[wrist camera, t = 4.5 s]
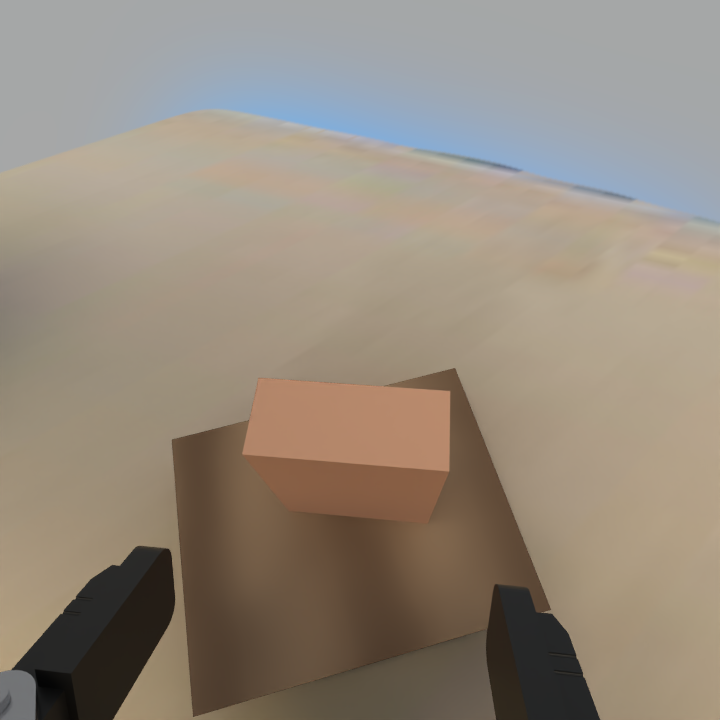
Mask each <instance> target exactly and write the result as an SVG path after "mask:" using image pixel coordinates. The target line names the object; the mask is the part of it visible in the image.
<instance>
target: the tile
mask: <svg viewBox="0 0 720 720" xmlns="http://www.w3.org/2000/svg"><path fill="white" fill-rule="evenodd" d="M242 455H243V456H244V457H245V459H246V460H247V461H248V462H249V463H250V465H251V466H252V467H253V468H254V469H255V471H256V472H257V473H258V474H259V475H260V477H261V478H262V479H263V480H264V482H265V483H266V484H267V485H268V486H269V488H270V489H271V490H272V491H273V492H274V494H275V495H276V496H277V497H278V499H279V500H280V501H281V502H282V503H283V505H284V506H285V507H286V508H287V509H288V511H295V512H306V513H317V514H328V515H339V516H350V517H361V518H372V519H382V520H393V521H404V522H415V523H426V524H428V522H429V519H430V517H431V514H432V512H433V510H434V507H435V505H436V502H437V500H438V497H439V495H440V493H441V490H442V488H443V485H444V483H445V481H446V478H447V476H448V473H449V455H450V391H442V390H428V389H413V388H399V387H384V386H370V385H355V384H341V383H326V382H312V381H297V380H283V379H268V378H258V383H257V387H256V392H255V397H254V401H253V406H252V411H251V415H250V420H249V424H248V429H247V434H246V438H245V443H244V448H243V452H242Z"/></svg>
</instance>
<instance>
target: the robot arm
mask: <svg viewBox="0 0 720 720" xmlns="http://www.w3.org/2000/svg"><path fill="white" fill-rule="evenodd" d="M174 606H175V590H174V579H173V567H172V556H171V552H170V550H169V549H166V548H156V547H147V546H137V547H136V548H135V549H134V550H133V551H132V552H131V553H130V554H129V556H128V557H127V558H126V559H125V560H124V562H123V563H122V564H121V565H120V566H116V565H112V566H110V567H109V568H107V569H106V570H104V571H103V572H101V573H100V574H98V575H97V576H95V577H94V578H92V579H91V580H90V581H89V582H88V583H87V584H86V586H85V587H84V588H83V589H82V590H81V591H80V592H79V594H78V595H77V596H76V599H75V600H72V602H71V603H70V604H69V605H68V606H67V607H66V608H65V610H64V612H63V614H60V615H59V616H58V618H57V619H56V620H55V621H54V622H53V623H52V624H51V625H50V627H49V628H48V629H47V630H46V631H45V632H44V633H43V635H42V636H41V637H40V638H39V639H38V640H37V641H36V643H35V644H34V645H33V646H32V647H31V648H30V649H29V651H28V652H27V653H26V654H25V655H24V656H23V657H22V659H21V660H20V661H19V662H18V663H17V664H16V665H15V667H14V668H13V669H12V670H9V671H4V672H0V720H113V718H114V717H115V715H116V713H117V712H118V710H119V708H120V707H121V705H122V703H123V701H124V700H125V698H126V696H127V695H128V693H129V691H130V690H131V688H132V686H133V685H134V683H135V681H136V680H137V678H138V676H139V674H140V673H141V671H142V669H143V668H144V666H145V664H146V663H147V661H148V659H149V658H150V656H151V654H152V653H153V651H154V649H155V647H156V646H157V644H158V642H159V641H160V639H161V637H162V636H163V634H164V632H165V631H166V629H167V627H168V625H169V623H170V621H171V618H172V615H173V611H174ZM486 656H487V666H488V672H489V678H490V684H491V690H492V697H493V703H494V709H495V715H496V720H600V718H599V716H598V713H597V710H596V707H595V705H594V702H593V699H592V697H591V694H590V691H589V688H588V686H587V683H586V680H585V678H583V672H582V669H581V667H580V664H579V661H578V659H576V653H575V650H574V648H573V645H572V642H571V640H570V637H569V634H568V633H567V631H566V630H565V629H564V628H563V627H562V625H561V624H560V623H559V622H558V620H557V619H556V618H555V617H554V616H553V614H548V613H538V612H536V610H535V607H534V604H533V600H532V597H531V594H530V591H529V589H528V588H527V587H520V586H511V585H501V584H495V585H494V589H493V595H492V602H491V609H490V616H489V623H488V630H487V638H486Z"/></svg>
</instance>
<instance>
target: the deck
mask: <svg viewBox="0 0 720 720" xmlns="http://www.w3.org/2000/svg"><path fill="white" fill-rule="evenodd" d="M384 387H399V388H413V389H428V390H442V391H450V455H449V473H448V476H447V478H446V481H445V483H444V485H443V488H442V490H441V493H440V495H439V497H438V500H437V502H436V505H435V507H434V510H433V512H432V514H431V517H430V519H429V522H428V524H426V523H415V522H404V521H393V520H382V519H372V518H361V517H350V516H339V515H328V514H317V513H306V512H295V511H288V509H287V508H286V507H285V506H284V505H283V503H282V502H281V501H280V500H279V499H278V497H277V496H276V495H275V494H274V492H273V491H272V490H271V489H270V488H269V486H268V485H267V484H266V483H265V482H264V480H263V479H262V478H261V477H260V475H259V474H258V473H257V472H256V471H255V469H254V468H253V467H252V466H251V465H250V463H249V462H248V461H247V460H246V459H245V457H244V456H243V455H242V452H243V448H244V443H245V438H246V434H247V429H248V424H249V420H248V421H244V422H240V423H236V424H232V425H228V426H225V427H221V428H217V429H213V430H209V431H205V432H201V433H197V434H193V435H189V436H185V437H181V438H177V439H173V440H172V448H173V461H174V474H175V487H176V500H177V513H178V526H179V539H180V552H181V565H182V578H183V591H184V604H185V617H186V630H187V643H188V656H189V670H190V683H191V696H192V709H193V717H195V716H198V715H201V714H205V713H208V712H211V711H215V710H218V709H221V708H225V707H228V706H231V705H235V704H238V703H241V702H245V701H248V700H251V699H255V698H258V697H261V696H265V695H268V694H271V693H275V692H278V691H281V690H285V689H288V688H291V687H295V686H298V685H301V684H305V683H308V682H311V681H315V680H318V679H321V678H325V677H328V676H331V675H335V674H338V673H341V672H345V671H348V670H351V669H355V668H358V667H361V666H365V665H368V664H371V663H375V662H378V661H381V660H385V659H388V658H391V657H395V656H398V655H401V654H405V653H408V652H411V651H415V650H418V649H421V648H425V647H428V646H431V645H435V644H438V643H441V642H445V641H448V640H451V639H455V638H458V637H461V636H465V635H468V634H471V633H475V632H478V631H481V630H485V629H488V623H489V616H490V609H491V602H492V595H493V589H494V585H495V584H501V585H511V586H520V587H527V588H528V589H529V591H530V594H531V597H532V600H533V604H534V607H535V610H536V612H538V613H541V612H545V611H548V610H551V609H550V606H549V604H548V601H547V599H546V596H545V593H544V591H543V588H542V586H541V583H540V581H539V578H538V576H537V573H536V571H535V568H534V566H533V563H532V561H531V558H530V556H529V553H528V551H527V548H526V546H525V543H524V541H523V538H522V536H521V533H520V531H519V528H518V526H517V523H516V520H515V518H514V515H513V513H512V510H511V508H510V505H509V503H508V500H507V498H506V495H505V493H504V490H503V488H502V485H501V483H500V480H499V478H498V475H497V473H496V470H495V468H494V465H493V463H492V460H491V458H490V455H489V453H488V450H487V447H486V445H485V442H484V440H483V437H482V435H481V432H480V430H479V427H478V425H477V422H476V420H475V417H474V415H473V412H472V410H471V407H470V405H469V402H468V400H467V397H466V395H465V392H464V390H463V387H462V385H461V382H460V380H459V377H458V374H457V372H456V369H455V368H453V369H450V370H446V371H442V372H438V373H434V374H430V375H426V376H422V377H418V378H414V379H410V380H406V381H402V382H398V383H394V384H390V385H386V386H384Z"/></svg>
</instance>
